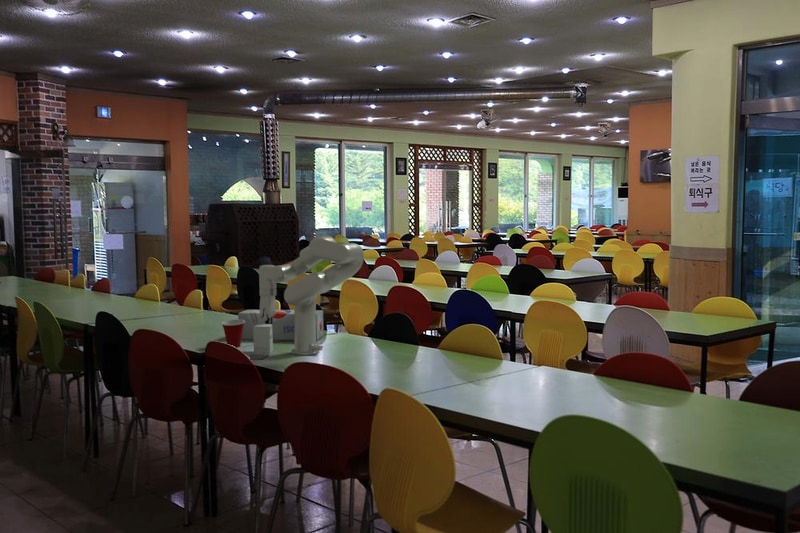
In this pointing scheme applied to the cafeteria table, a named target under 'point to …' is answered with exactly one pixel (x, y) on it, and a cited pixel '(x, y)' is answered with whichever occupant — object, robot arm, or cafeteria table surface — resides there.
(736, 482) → the cafeteria table surface
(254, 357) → the mat
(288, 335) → the soda pack
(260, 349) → the supplement box
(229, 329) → the plastic cup
